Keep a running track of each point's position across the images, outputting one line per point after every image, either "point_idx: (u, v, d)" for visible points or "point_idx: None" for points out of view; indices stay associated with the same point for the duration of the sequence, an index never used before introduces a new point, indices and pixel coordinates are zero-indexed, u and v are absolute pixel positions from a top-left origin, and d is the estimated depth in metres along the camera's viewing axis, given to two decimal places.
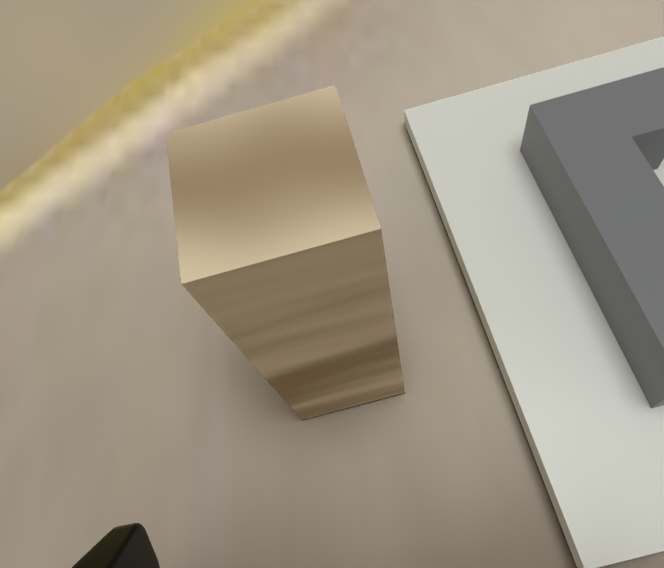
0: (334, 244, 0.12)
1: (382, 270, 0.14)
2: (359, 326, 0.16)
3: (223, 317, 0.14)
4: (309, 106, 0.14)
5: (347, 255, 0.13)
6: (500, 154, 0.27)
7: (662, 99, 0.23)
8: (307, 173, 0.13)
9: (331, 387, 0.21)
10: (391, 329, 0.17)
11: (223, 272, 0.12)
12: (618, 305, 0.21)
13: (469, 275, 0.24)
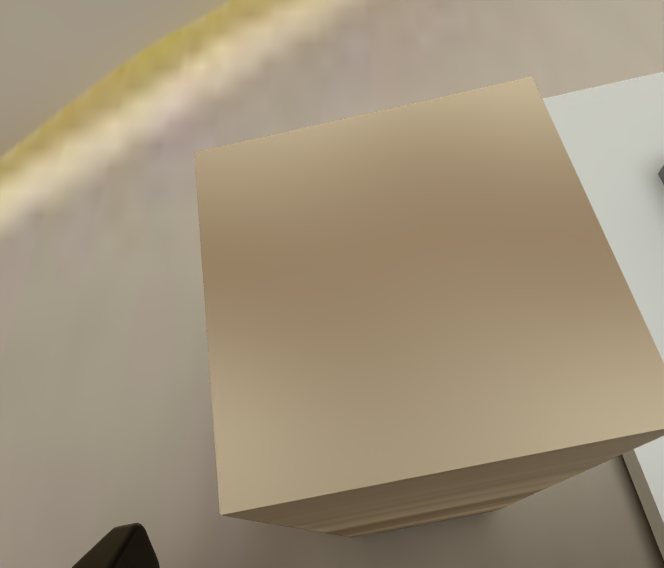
0: (573, 447, 0.05)
1: (613, 455, 0.07)
2: (504, 492, 0.09)
3: (288, 519, 0.07)
4: (483, 116, 0.07)
5: (579, 453, 0.06)
6: (631, 177, 0.20)
7: None
8: (494, 265, 0.06)
9: (410, 522, 0.14)
10: (544, 487, 0.10)
11: (317, 496, 0.05)
12: None
13: None
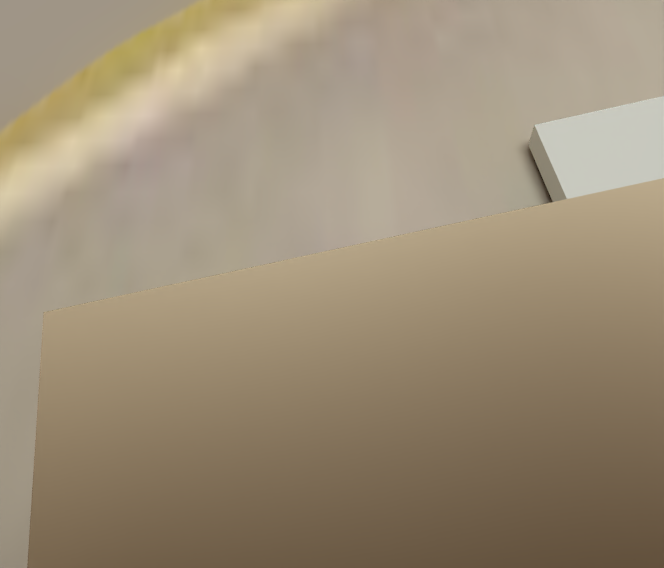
0: None
1: None
2: None
3: None
4: None
5: None
6: None
7: None
8: None
9: None
10: None
11: None
12: None
13: None
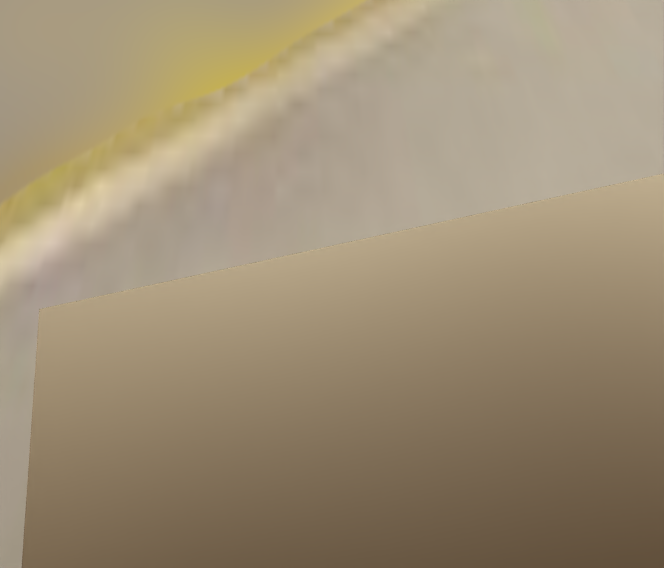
0: None
1: None
2: None
3: None
4: None
5: None
6: None
7: None
8: None
9: None
10: None
11: None
12: None
13: None
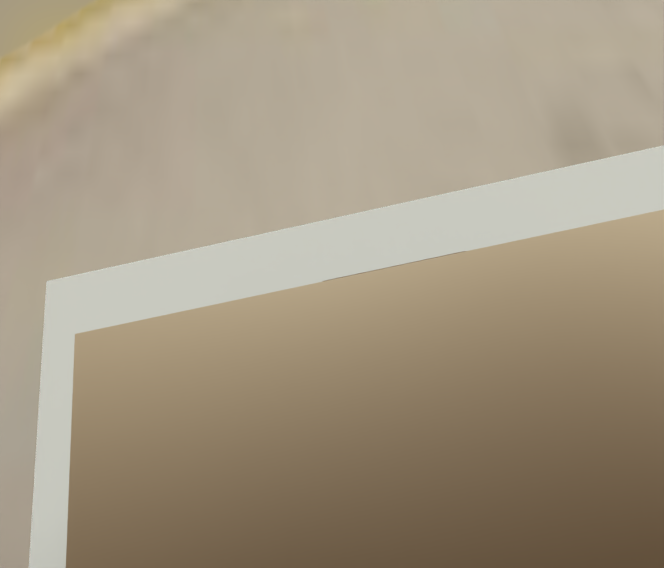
0: None
1: None
2: None
3: None
4: None
5: None
6: None
7: None
8: None
9: None
10: None
11: None
12: None
13: None
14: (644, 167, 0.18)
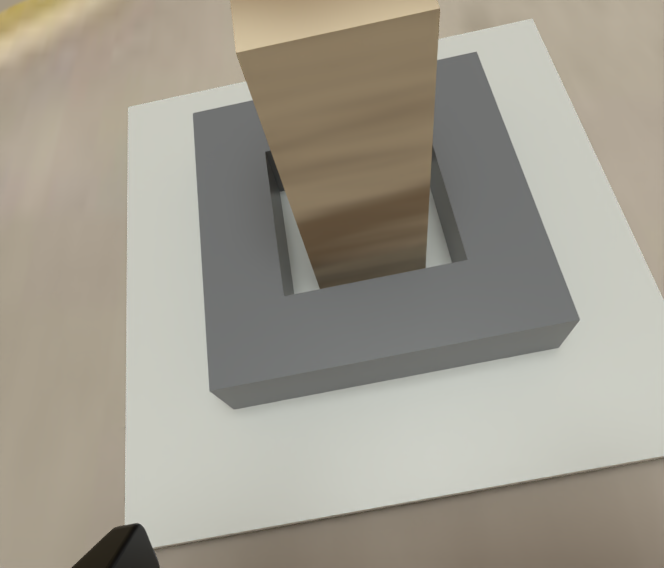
0: (391, 23, 0.12)
1: (431, 75, 0.14)
2: (397, 159, 0.16)
3: (268, 115, 0.14)
4: None
5: (402, 44, 0.13)
6: None
7: None
8: None
9: (356, 249, 0.21)
10: (426, 172, 0.17)
11: (279, 43, 0.12)
12: None
13: (127, 272, 0.25)
14: (512, 32, 0.29)
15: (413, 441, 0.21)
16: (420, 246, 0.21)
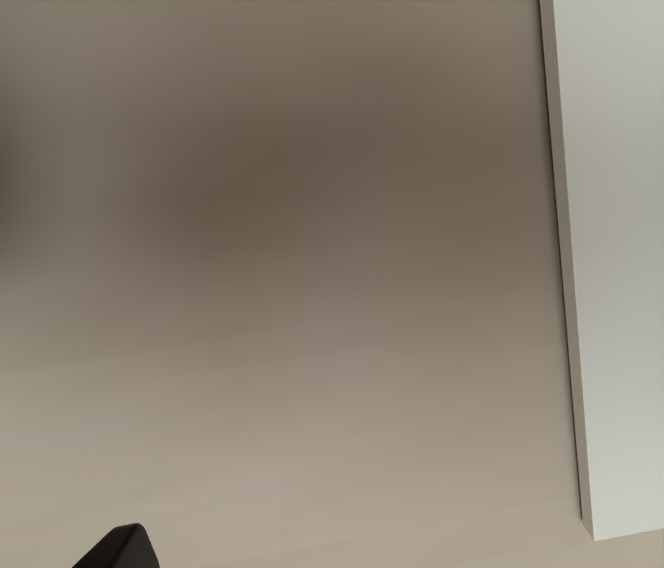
0: None
1: None
2: None
3: None
4: None
5: None
6: None
7: None
8: None
9: None
10: None
11: None
12: None
13: None
14: None
15: (633, 295, 0.20)
16: None
